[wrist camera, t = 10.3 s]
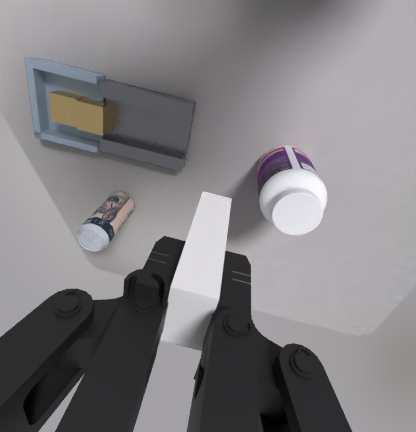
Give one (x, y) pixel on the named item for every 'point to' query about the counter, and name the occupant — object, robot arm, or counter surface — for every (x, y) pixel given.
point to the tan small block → (63, 106)
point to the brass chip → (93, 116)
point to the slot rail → (147, 125)
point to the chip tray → (68, 81)
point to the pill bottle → (290, 190)
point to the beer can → (105, 222)
